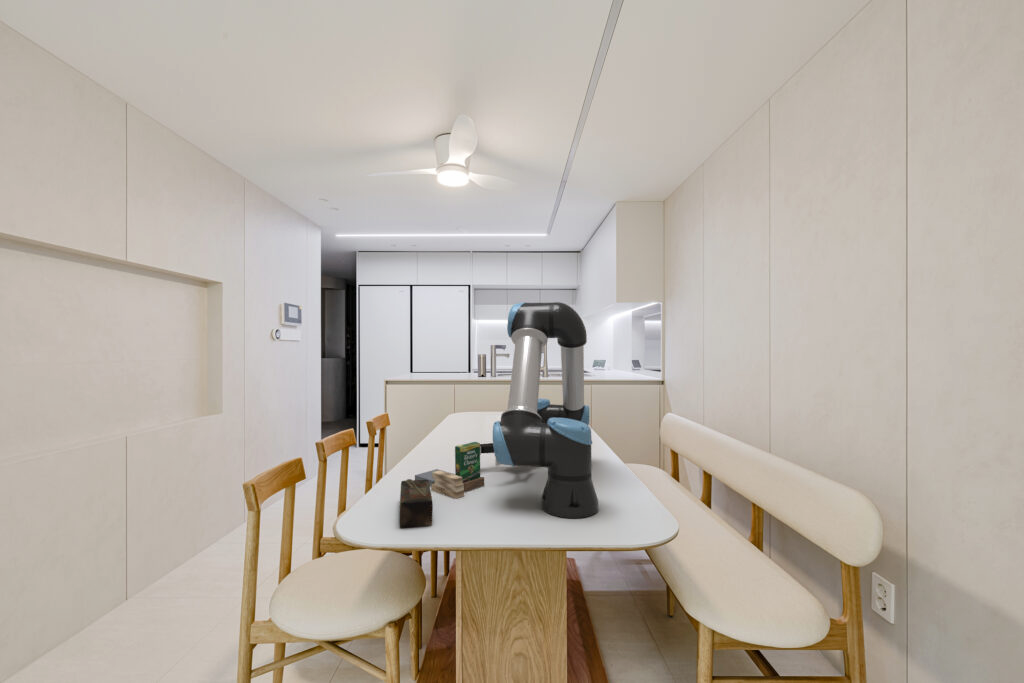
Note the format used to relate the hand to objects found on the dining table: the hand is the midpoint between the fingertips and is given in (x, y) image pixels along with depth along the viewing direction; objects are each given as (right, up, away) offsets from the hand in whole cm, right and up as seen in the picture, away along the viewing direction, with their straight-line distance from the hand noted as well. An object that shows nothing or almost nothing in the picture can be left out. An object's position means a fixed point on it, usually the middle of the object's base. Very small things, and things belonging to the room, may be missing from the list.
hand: (480, 457), depth 138 cm
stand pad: (-15, -8, +1) cm, 17 cm away
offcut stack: (-9, -8, -11) cm, 16 cm away
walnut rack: (-4, -8, -5) cm, 10 cm away
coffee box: (-4, -8, -5) cm, 10 cm away
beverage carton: (-15, -8, -26) cm, 31 cm away
